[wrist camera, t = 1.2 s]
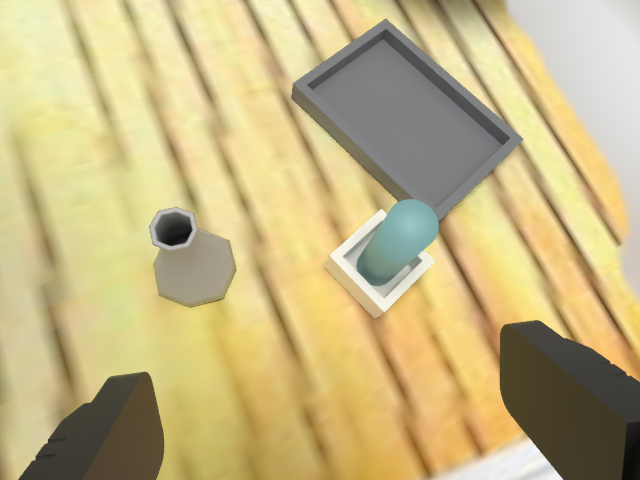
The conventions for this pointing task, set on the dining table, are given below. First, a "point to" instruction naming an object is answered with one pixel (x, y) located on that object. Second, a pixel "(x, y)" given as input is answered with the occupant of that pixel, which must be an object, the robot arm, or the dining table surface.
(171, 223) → the flask
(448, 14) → the dining table surface
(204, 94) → the dining table surface
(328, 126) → the tray
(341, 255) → the tray
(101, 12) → the dining table surface
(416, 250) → the dowel
